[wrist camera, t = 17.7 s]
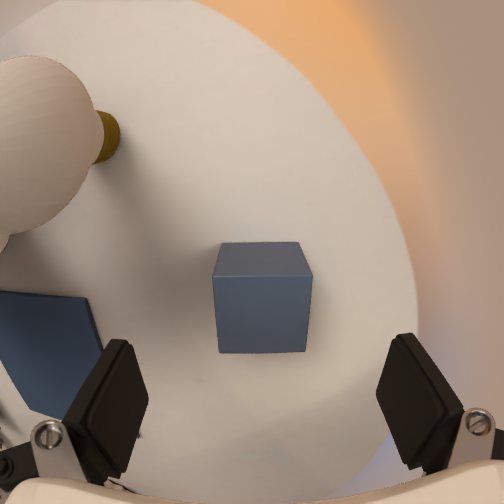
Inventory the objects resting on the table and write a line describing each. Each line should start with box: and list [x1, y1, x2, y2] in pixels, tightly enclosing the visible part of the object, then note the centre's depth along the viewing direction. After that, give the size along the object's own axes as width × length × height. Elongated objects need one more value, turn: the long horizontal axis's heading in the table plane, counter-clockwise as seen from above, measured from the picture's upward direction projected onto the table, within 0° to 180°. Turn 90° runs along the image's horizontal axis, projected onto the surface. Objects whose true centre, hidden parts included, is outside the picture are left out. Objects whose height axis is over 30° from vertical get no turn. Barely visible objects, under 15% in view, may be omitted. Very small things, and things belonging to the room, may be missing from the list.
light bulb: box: [0, 56, 120, 234], centre depth 9 cm, size 6×6×10 cm
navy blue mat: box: [0, 291, 140, 438], centre depth 19 cm, size 15×14×1 cm
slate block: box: [212, 242, 313, 353], centre depth 14 cm, size 4×4×4 cm
